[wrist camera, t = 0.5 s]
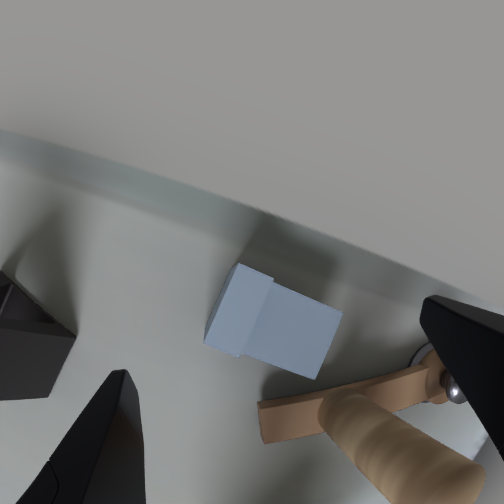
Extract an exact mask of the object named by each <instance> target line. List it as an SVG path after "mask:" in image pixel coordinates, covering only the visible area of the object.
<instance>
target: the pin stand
mask: <svg viewBox="0 0 504 504" xmlns="http://www.w3.org/2000/svg"><path fill="white" fill-rule="evenodd" d="M432 349H434V348H433V346H432V344H431V342H429V343H427V344H425V345H423V346H422V347H421V348H420V349H419V350H418V351H417V352H416V353H415V354H414V356H413V358H412V359H411V361H410V363H409V366H408V368H409V367H412V366H415V365H418V364H419V363H420V361H421V360H422V358H423V357H424V356H425V355H426V354H427V353H428V352H429V351H430V350H432ZM440 386H441V388H443V389H445V390H446V396H447V398H448V399H449V400H450V401H452V402H454V403H457V404H461V403H464V402H466V401H467V399H466V397H465V396H464V394H463V393H462V391H461V390H460V388H459V387H458V385H457V384H456V382H455V381H454V379H453V378H452V376H451V375H450V373H449V372H448V370H447V369H445V370H444V371H443V372H442V374H441V377H440ZM426 402H430V401H427V400H425V401H423V402H422V403H426Z"/></svg>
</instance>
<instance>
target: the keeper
mask: <svg viewBox="0 0 504 504" xmlns="http://www.w3.org/2000/svg"><path fill="white" fill-rule="evenodd" d="M273 280H274V278H272V277H270V276H267V275H265V274H263V273H261V272H258V271H256V270H254V269H252V268H249V267H247V266H245V265H243V264H240V263H238V264H236V265H235V266H234V267H233V268H232V269H231V270H230V272H229V275H228V277H227V279H226V281H225V284H224V286H223V288H222V290H221V293H220V295H219V297H218V300H217V302H216V304H215V306H214V309H213V311H212V313H211V316H210V318H209V320H208V322H207V325H206V327H205V332H204V342H203V343H204V344H206V345H209V346H211V347H213V348H216V349H218V350H220V351H223V352H225V353H228V354H230V355H233V356H235V357H238V358H240V356H241V354H242V353H243V354H246V355H248V356H251V357H253V358H256V359H258V360H261V361H264V362H266V363H269V364H271V365H274V366H277V367H280V368H282V369H285V370H288V371H291V372H293V373H296V374H299V375H302V376H305V377H308V378H311V379H314V380H315V378H316V376H317V374H318V372H319V370H320V368H321V365H322V363H323V361H324V359H325V356H326V354H327V352H328V349H329V347H330V345H331V342H332V340H333V338H334V335H335V333H336V330H337V328H338V326H339V323H340V321H341V318H342V316H343V312H341V311H339V310H336V309H334V308H332V307H329V306H327V305H325V304H322V303H320V302H318V301H315V300H313V299H311V298H309V297H306V296H304V295H302V294H299V293H297V292H295V291H292V290H290V289H288V288H286V287H283V286H281V285H279V284H276V283H274V282H273Z"/></svg>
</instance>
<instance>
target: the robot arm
mask: <svg viewBox="0 0 504 504" xmlns="http://www.w3.org/2000/svg"><path fill="white" fill-rule="evenodd" d="M420 325H421V327H422V329H423V330H424V332H425V334H426V335H427V337H428V339H429V341H430V342H431V344H432V346H433V348H434V349H435V351H436V353H437V355H438V357H439V358H440V360H441V361H442V363H443V365H444V366H445V367H446V369H447V370H448V372H449V373H450V375H451V376H452V378H453V379H454V381H455V382H456V384H457V385H458V387H459V388H460V390H461V391H462V393H463V394H464V396H465V397H466V399H467V400H468V402H469V404H470V405H471V407H472V408H473V410H474V411H475V413H476V415H477V416H478V418H479V419H480V421H481V423H482V424H483V426H484V428H485V429H486V431H487V433H488V434H489V436H490V438H491V439H492V441H493V443H494V444H495V446H496V447H497V450H499V454H500V455H501V457H502V459H503V461H504V316H503V315H500V314H497V313H494V312H490V311H487V310H484V309H481V308H477V307H474V306H471V305H468V304H465V303H461V302H458V301H455V300H452V299H448V298H445V297H442V296H439V295H432V296H429V297H427V298H425V299H424V301H423V305H422V310H421V314H420ZM16 504H146V495H145V469H144V441H143V432H142V424H141V415H140V405H139V396H138V391H137V389H136V387H135V384H134V382H133V380H132V378H131V376H130V374H129V372H128V371H127V370H126V369H121V370H114V371H112V372H111V373H110V374H109V376H108V377H107V378H106V380H105V381H104V382H103V384H102V385H101V386H100V388H99V389H98V390H97V392H96V393H95V395H94V396H93V397H92V399H91V400H90V401H89V403H88V404H87V406H86V407H85V408H84V410H83V411H82V413H81V414H80V415H79V417H78V418H77V420H76V421H75V422H74V424H73V425H72V427H71V428H70V429H69V431H68V432H67V434H66V435H65V437H64V438H63V439H62V441H61V442H60V444H59V445H58V447H57V448H56V449H55V451H54V452H53V454H52V455H51V457H50V458H49V461H47V462H46V464H45V465H44V467H43V468H42V470H41V471H40V473H39V474H38V475H37V477H36V478H35V480H34V481H33V482H32V484H31V485H30V486H29V488H28V489H27V490H26V491H25V493H24V494H23V495H22V496H21V498H20V499H19V500H18V501H17V502H16Z"/></svg>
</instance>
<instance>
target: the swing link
mask: <svg viewBox="0 0 504 504" xmlns="http://www.w3.org/2000/svg"><path fill="white" fill-rule="evenodd" d="M445 369H446V367H445V366H444V365H443V363H442V361H441V360H440V358H439V357H438V355H437V353H436V351H435V349H432V350H430V351H429V352H428V353H427V354H426V355H425V356H424V357H423V358H422V360H421V361H420V363H419V364H418V365H415V366H412V367H409V368H406V369H403V370H399V371H396V372H393V373H389V374H386V375H382V376H379V377H375V378H371V379H367V380H364V381H360V382H356V383H352V384H348V385H343V386H339V387H335V388H330V389H326V390H321V391H316V392H311V393H306V394H301V395H295V396H290V397H284V398H278V399H272V400H266V401H259V402H257V407H258V415H259V424H260V433H261V437H262V440H263V442H264V444H268V443H274V442H280V441H285V440H290V439H295V438H300V437H305V436H310V435H314V434H319V433H323V432H326V433H327V434H328V435H329V436H330V438H331V439H332V440H333V441H334V442H335V443H336V444H337V445H338V447H339V448H340V449H341V450H342V451H343V452H344V453H345V454H346V456H347V457H348V458H349V459H350V460H351V461H352V462H353V463H354V464H355V466H356V467H357V468H358V469H359V470H360V471H361V472H362V473H363V474H364V475H365V476H366V478H367V479H368V480H369V481H370V482H371V483H372V484H373V485H374V486H375V487H376V488H377V489H378V490H379V491H380V492H381V494H382V495H383V496H384V497H385V498H386V499H387V500H388V501H389V502H390V503H391V504H474V502H475V501H476V499H477V498H478V496H479V494H480V492H481V490H482V488H483V485H484V482H485V476H486V474H485V470H484V468H483V467H482V466H481V465H479V464H477V463H475V462H474V461H472V460H470V459H468V458H466V457H465V456H463V455H461V454H459V453H457V452H456V451H454V450H452V449H450V448H449V447H447V446H445V445H444V444H442V443H440V442H438V441H437V440H435V439H433V438H432V437H430V436H428V435H427V434H425V433H423V432H422V431H420V430H418V429H417V428H415V427H413V426H412V425H410V424H408V423H407V422H405V421H403V420H402V419H400V418H399V417H397V416H395V415H394V414H392V413H393V412H395V411H398V410H401V409H404V408H407V407H409V406H412V405H415V404H418V403H420V402H423V401H425V400H427V401H430V402H432V403H434V404H442V403H445V402H447V401H449V399H448V398H447V396H446V390H445V389H443V388H441V386H440V377H441V374H442V372H443V371H444V370H445Z"/></svg>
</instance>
